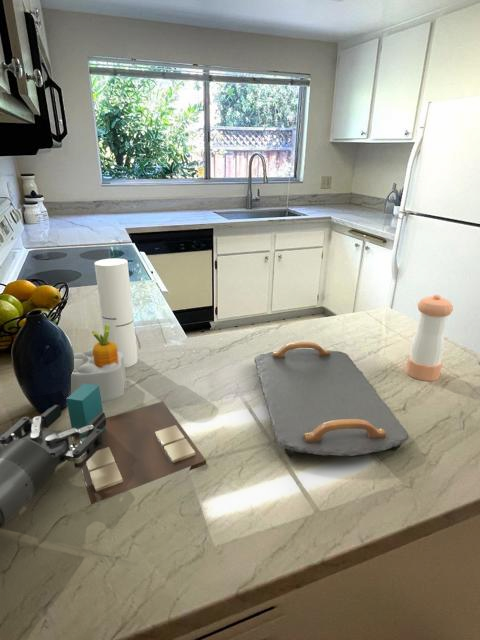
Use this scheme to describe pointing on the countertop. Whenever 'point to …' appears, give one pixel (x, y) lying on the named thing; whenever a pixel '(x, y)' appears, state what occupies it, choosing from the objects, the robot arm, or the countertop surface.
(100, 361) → the carrot
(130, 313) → the cylindrical container
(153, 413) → the word board
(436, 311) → the pepper shaker
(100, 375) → the lumpy-topped squat cylinder
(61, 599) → the countertop surface
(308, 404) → the serving tray
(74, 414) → the teal rectangular block
